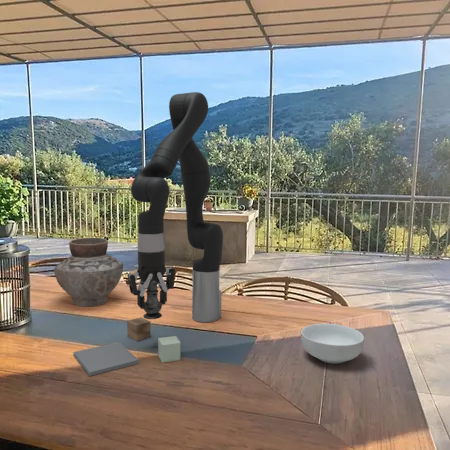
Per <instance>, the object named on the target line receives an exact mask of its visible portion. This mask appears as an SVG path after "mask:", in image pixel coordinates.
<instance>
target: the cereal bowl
mask: <svg viewBox="0 0 450 450" xmlns="http://www.w3.org/2000/svg"><path fill="white" fill-rule="evenodd" d="M300 339H301V345H302V347H303V348H304V350H305V351H306V352H307V353H308V354H309V355H310V356H312V357H315V358H317V359H318V360H319V361H322V362H323V363H327V364H342V363H345V362H347V361H348V362H349V361H351V360H354V359H356V358H357V357H358V356H359V355H361V353H362V351H363V348H364V347H365V346H364V344H365V337H364V335H363V334H362V333H361V331H359V330H357V329H355V328H353V327H349V326H346V325H342V324H336V323H315V324H309V325H307V326H305V327H303V328H302V329H301V331H300Z"/></svg>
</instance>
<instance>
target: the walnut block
mask: <svg viewBox="0 0 450 450" xmlns="http://www.w3.org/2000/svg"><path fill="white" fill-rule="evenodd" d="M126 322H127V323H126V324H127V330H126V331H127V336H126V337H128V338H130V339H132V340H134V341H135V342H138V341H141V340H144V339H145V340H146V339H147V338H151V321H150V320H149V319H146V318H144V317H142V316H141V317H136V318H133V319H130V320H129V319H128V320H126Z"/></svg>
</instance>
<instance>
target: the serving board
mask: <svg viewBox="0 0 450 450" xmlns="http://www.w3.org/2000/svg"><path fill="white" fill-rule="evenodd" d="M73 357H74V358H75V359H76V360H77V362H78V363H79V365H80V366H81V367H82V368H83V370H84V371H85V372H86V374H87V375H88V377H92V376H97V375H100V374H104V373H107V372H111V371H115V370H118V369H119V370H120V369H124V368H126V367H130V366H134V365H138V364H140V363H139V362H140V361H139V359H138V358H137V357H136V355H134V354H133V353H132V352H131V351H129V349H128V348H126V346H124V345H123V344H122V343H121V342H120V341H118V342H117V341H116V342H113V343H108V344H103V345H100V346H94V347H90V348H86V349H82V350H77V351H73Z"/></svg>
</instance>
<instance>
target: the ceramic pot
mask: <svg viewBox="0 0 450 450" xmlns="http://www.w3.org/2000/svg"><path fill="white" fill-rule="evenodd" d="M108 243H109V241H108V239H107V238H103V237H102V238H101V237H84V238H83V237H81V238H74V239H71V240H69V244H68V245H69V251H70V253H71V255H70V256H68V257H67V258H65V259H64V260H62V261H61V262H60V263H58V264H57V265H55V267H54V268H53V271H54V276H55V279H56V281H57V283H58V285H59V286H60V288H61V289H62V290H63V291H64V292H65V293H67V294H68V295H69V297H71V303H72V305H75V306H78V307H84V308H86V307H87V308H88V307H89V308H90V307H97V306H102V305H105V304H106V303H107V302H108V299H109V294H111V293H112V292H113V291H114V289H115V288H116V287H117V285H118V284H119V282H120V281H121V277H122V276H123V271H124V264H123V262H122V261H120V260H119V259H117V258H115V257H114V256H112V255H111V254H110V255H109V254H107V251H108Z"/></svg>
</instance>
